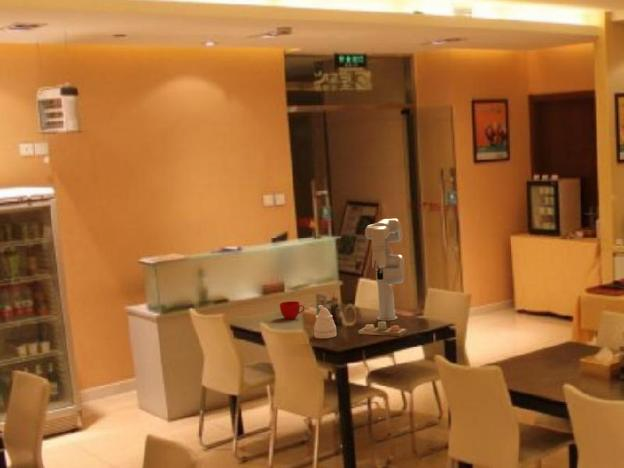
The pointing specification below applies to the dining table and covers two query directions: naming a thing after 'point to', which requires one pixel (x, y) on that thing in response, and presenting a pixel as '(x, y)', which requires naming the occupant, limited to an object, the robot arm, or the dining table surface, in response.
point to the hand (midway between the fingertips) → (380, 279)
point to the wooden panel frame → (382, 331)
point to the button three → (395, 328)
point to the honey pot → (324, 324)
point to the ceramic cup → (290, 309)
